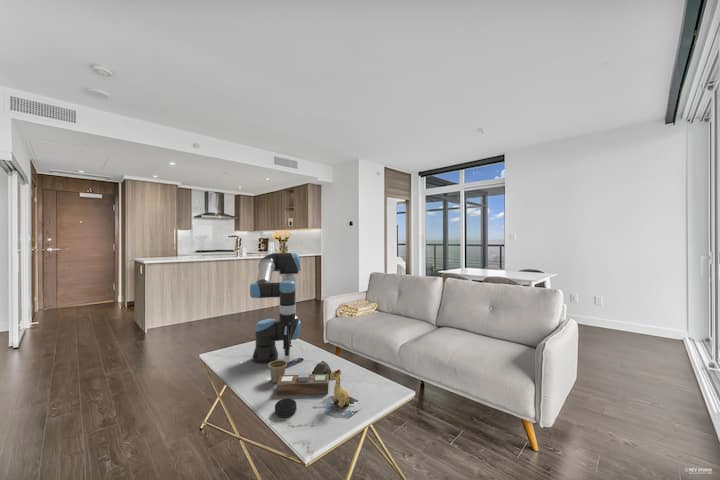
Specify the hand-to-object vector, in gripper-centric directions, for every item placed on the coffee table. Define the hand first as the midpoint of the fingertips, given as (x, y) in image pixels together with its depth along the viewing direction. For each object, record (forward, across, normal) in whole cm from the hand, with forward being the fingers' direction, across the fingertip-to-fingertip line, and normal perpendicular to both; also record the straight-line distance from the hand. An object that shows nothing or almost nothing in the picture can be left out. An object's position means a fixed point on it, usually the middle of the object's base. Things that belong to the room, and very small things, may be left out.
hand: (287, 361), depth 150 cm
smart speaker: (+14, +20, +3) cm, 25 cm away
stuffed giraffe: (+14, +17, +26) cm, 34 cm away
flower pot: (+14, -10, -6) cm, 18 cm away
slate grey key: (+9, +1, +8) cm, 12 cm away
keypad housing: (+14, +1, +8) cm, 16 cm away
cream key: (+11, +1, 0) cm, 11 cm away
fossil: (+14, -12, +16) cm, 25 cm away
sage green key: (+11, +1, +16) cm, 19 cm away
